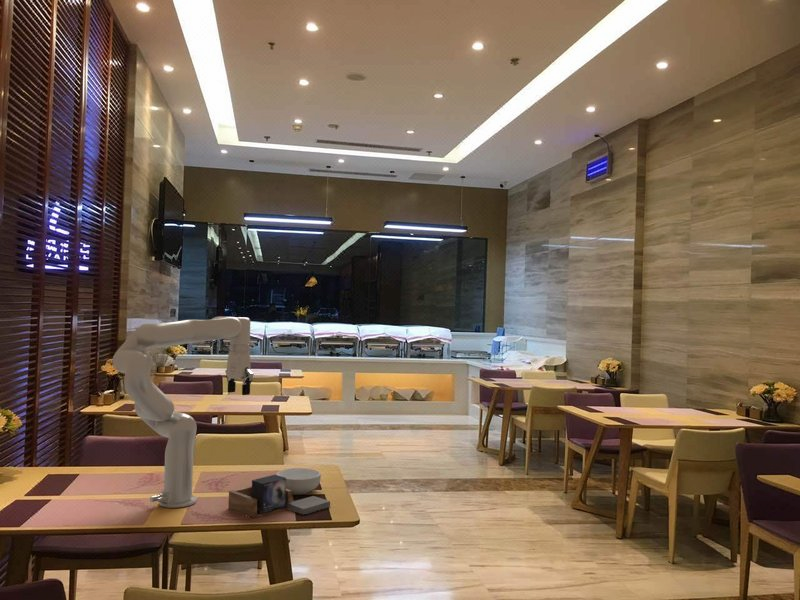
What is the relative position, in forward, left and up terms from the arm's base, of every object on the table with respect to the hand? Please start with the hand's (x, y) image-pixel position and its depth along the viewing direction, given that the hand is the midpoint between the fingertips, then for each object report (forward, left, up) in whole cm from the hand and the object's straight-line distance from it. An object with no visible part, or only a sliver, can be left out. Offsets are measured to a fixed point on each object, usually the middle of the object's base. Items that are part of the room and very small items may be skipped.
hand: (238, 393), depth 234 cm
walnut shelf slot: (-7, -26, -37) cm, 46 cm away
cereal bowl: (+15, -19, -37) cm, 44 cm away
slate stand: (+5, -37, -37) cm, 52 cm away
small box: (-7, -30, -36) cm, 48 cm away
